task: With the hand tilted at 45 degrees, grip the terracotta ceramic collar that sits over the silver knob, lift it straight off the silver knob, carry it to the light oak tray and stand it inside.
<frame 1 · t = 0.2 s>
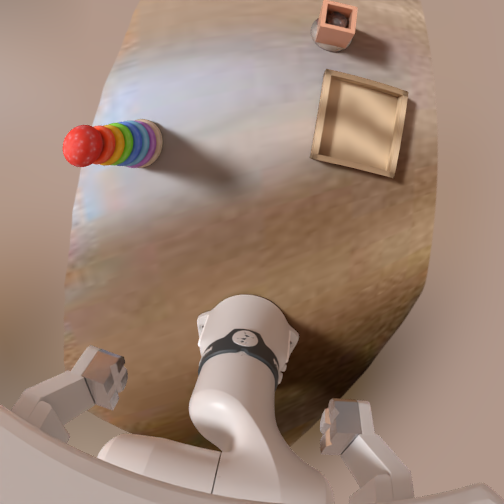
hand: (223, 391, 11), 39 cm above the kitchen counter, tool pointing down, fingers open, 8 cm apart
collar: (332, 32, 36), point 1 cm above the kitchen counter, touching silver knob
stacking toy: (143, 143, 46), on the kitchen counter
silver knob: (331, 33, 37), on the kitchen counter
tray: (357, 123, 41), on the kitchen counter
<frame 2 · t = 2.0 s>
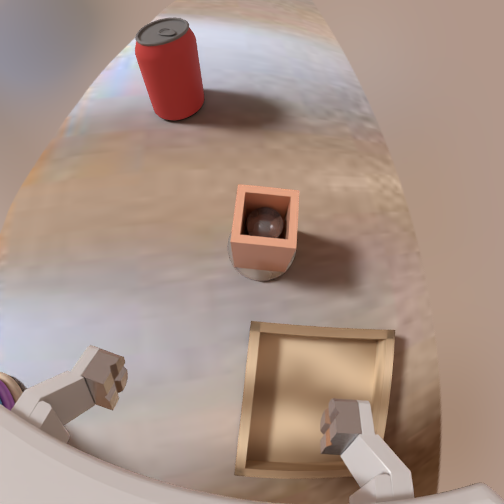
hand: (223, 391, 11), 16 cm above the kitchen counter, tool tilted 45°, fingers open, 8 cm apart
beer can: (179, 105, 35), on the kitchen counter
collar: (261, 245, 29), point 1 cm above the kitchen counter, touching silver knob
stacking toy: (10, 404, 23), on the kitchen counter
silver knob: (261, 247, 29), on the kitchen counter
tray: (312, 401, 25), on the kitchen counter
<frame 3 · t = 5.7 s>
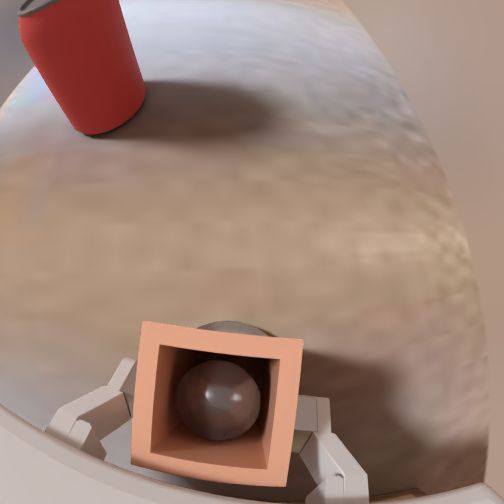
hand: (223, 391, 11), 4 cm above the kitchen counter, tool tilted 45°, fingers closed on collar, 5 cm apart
beer can: (110, 108, 21), on the kitchen counter
collar: (227, 383, 14), point 1 cm above the kitchen counter, touching gripper, silver knob
silver knob: (228, 382, 15), on the kitchen counter
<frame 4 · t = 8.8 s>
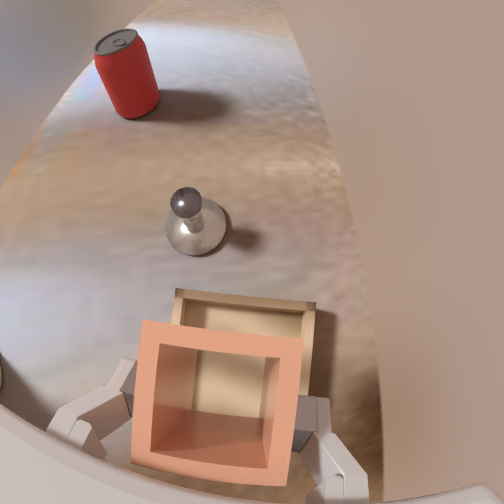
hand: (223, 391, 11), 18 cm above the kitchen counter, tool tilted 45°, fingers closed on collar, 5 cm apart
beer can: (139, 105, 38), on the kitchen counter
collar: (228, 382, 14), point 14 cm above the kitchen counter, touching gripper
silver knob: (196, 226, 32), on the kitchen counter
tray: (238, 369, 28), on the kitchen counter
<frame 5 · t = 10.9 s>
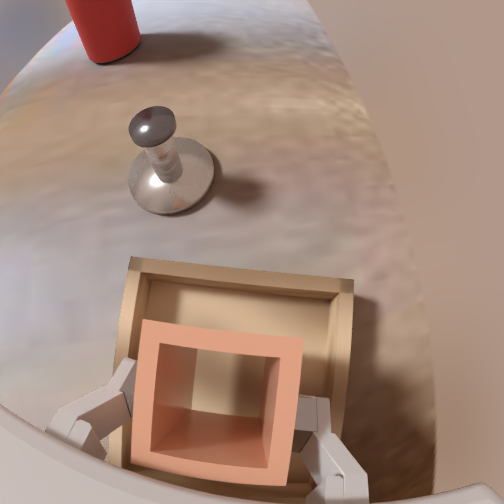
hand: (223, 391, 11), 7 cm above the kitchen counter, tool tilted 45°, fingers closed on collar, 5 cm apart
beer can: (116, 50, 28), on the kitchen counter
collar: (228, 382, 14), point 3 cm above the kitchen counter, touching gripper
silver knob: (171, 175, 22), on the kitchen counter
tray: (229, 388, 17), on the kitchen counter
when the fingers open (7 cm above the kitchen counter, at t = 11.9 s): collar drops 1 cm, resting on tray.
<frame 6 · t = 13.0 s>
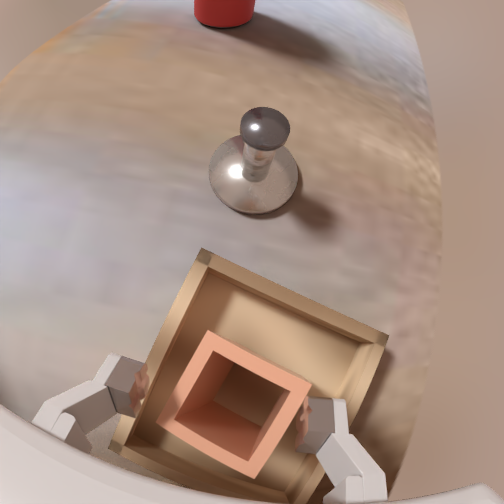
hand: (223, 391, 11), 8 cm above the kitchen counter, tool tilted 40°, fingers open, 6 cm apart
beer can: (223, 17, 27), on the kitchen counter
collar: (250, 391, 17), point 1 cm above the kitchen counter, tilted 14°, touching tray
silver knob: (253, 173, 22), on the kitchen counter
tray: (246, 392, 18), on the kitchen counter
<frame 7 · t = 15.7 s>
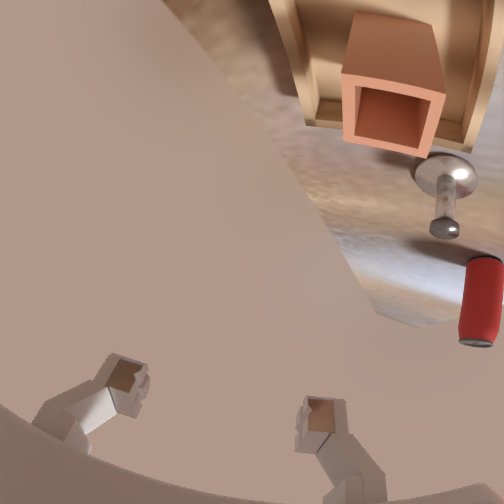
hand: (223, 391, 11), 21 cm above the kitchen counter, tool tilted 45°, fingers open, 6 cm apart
beer can: (485, 262, 35), on the kitchen counter
collar: (392, 46, 14), point 1 cm above the kitchen counter, touching tray
silver knob: (446, 176, 24), on the kitchen counter
tray: (391, 36, 14), on the kitchen counter
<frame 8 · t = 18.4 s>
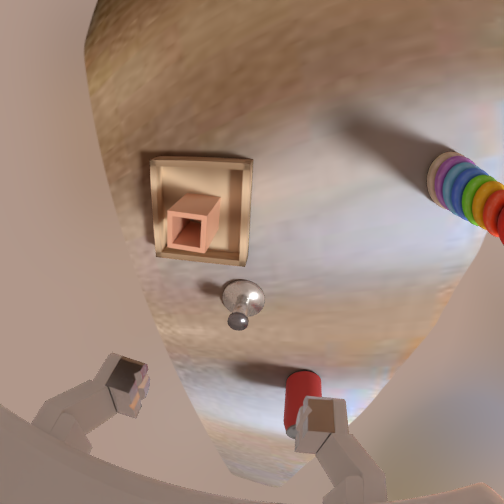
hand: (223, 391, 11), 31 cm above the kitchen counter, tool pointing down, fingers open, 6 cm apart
beer can: (303, 379, 54), on the kitchen counter
collar: (202, 211, 40), point 1 cm above the kitchen counter, touching tray
stacking toy: (448, 178, 35), on the kitchen counter
silver knob: (243, 297, 47), on the kitchen counter
tray: (203, 206, 41), on the kitchen counter
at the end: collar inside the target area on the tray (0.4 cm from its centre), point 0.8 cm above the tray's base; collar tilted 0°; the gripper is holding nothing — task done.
